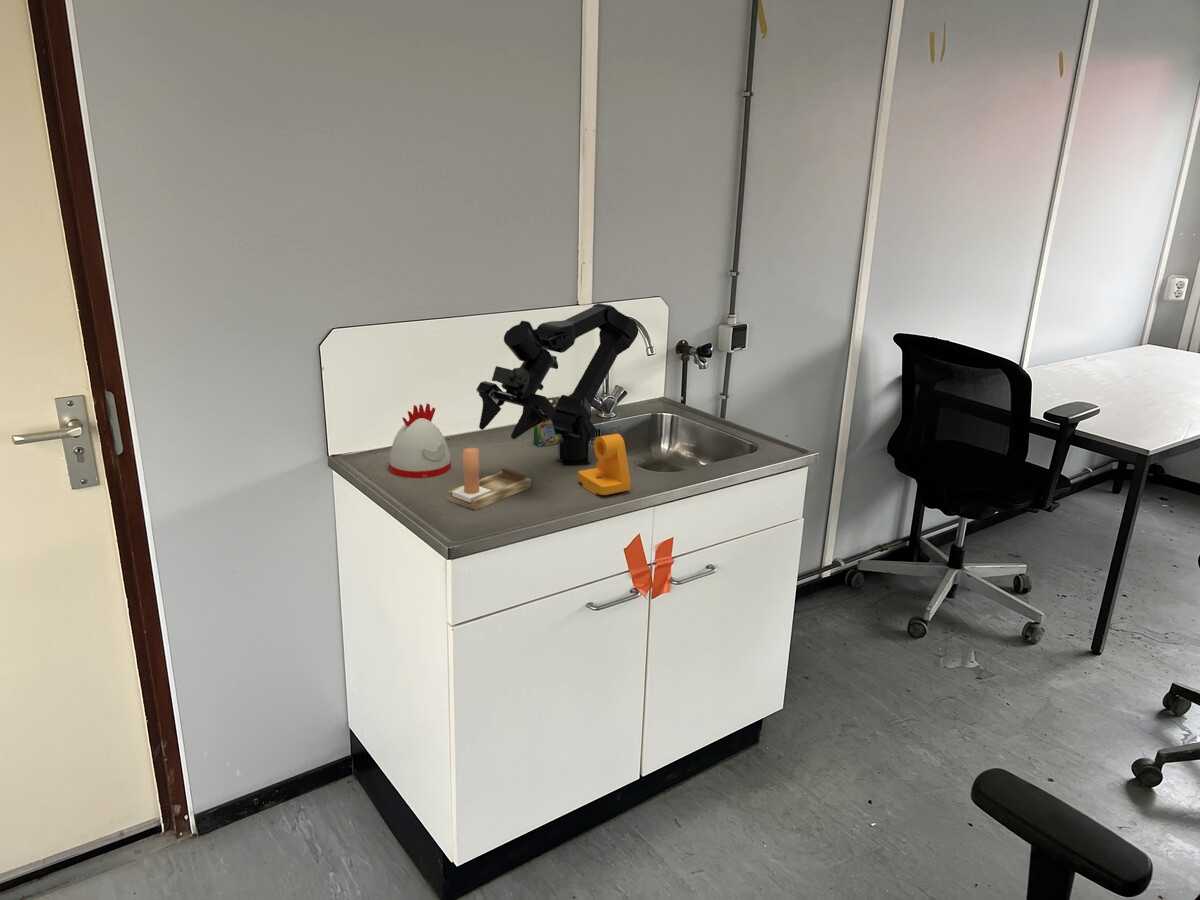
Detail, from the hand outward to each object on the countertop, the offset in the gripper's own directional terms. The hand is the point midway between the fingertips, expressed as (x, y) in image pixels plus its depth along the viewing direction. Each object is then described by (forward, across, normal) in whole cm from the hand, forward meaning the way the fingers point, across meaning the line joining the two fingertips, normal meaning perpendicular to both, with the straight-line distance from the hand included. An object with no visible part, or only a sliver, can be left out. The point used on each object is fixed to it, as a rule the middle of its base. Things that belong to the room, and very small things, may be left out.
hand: (496, 433), depth 186 cm
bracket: (-3, +16, +22) cm, 27 cm away
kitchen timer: (+10, -23, +9) cm, 27 cm away
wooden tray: (+11, 0, +8) cm, 13 cm away
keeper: (+14, 0, +3) cm, 14 cm away
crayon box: (-13, -12, +32) cm, 37 cm away
